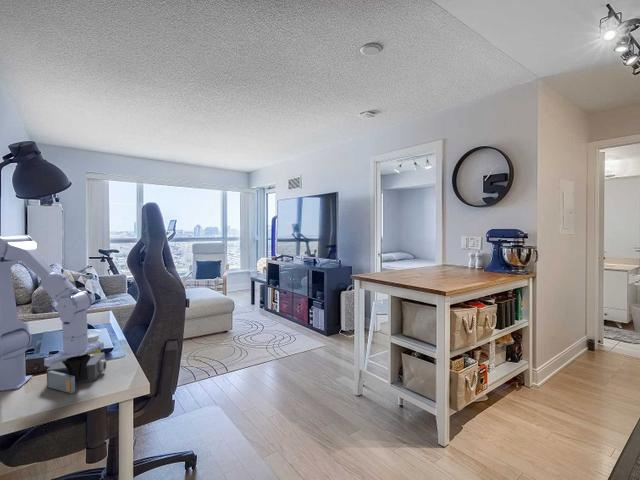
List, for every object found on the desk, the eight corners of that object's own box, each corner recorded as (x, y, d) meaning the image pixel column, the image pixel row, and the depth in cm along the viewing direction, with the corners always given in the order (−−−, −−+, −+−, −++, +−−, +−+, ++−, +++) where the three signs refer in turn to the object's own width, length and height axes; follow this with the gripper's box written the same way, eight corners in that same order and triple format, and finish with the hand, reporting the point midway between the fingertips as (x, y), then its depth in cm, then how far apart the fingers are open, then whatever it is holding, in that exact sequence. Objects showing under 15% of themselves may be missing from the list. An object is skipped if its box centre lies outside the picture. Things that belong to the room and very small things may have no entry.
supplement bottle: (103, 356, 118) (103, 333, 118) (93, 362, 113) (93, 338, 113) (91, 356, 118) (90, 333, 118) (80, 361, 114) (80, 337, 113)
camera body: (46, 387, 96) (46, 368, 96) (61, 372, 105) (60, 355, 105) (100, 380, 100) (100, 362, 100) (109, 366, 110) (109, 350, 109)
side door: (46, 388, 95) (45, 372, 94) (52, 385, 96) (51, 370, 96) (69, 394, 91) (68, 378, 91) (75, 391, 92) (74, 376, 92)
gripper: (53, 345, 86) (55, 396, 87) (109, 329, 99) (110, 373, 100) (39, 341, 89) (41, 390, 90) (95, 326, 102) (96, 369, 103)
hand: (76, 381), depth 95 cm, fingers closed
